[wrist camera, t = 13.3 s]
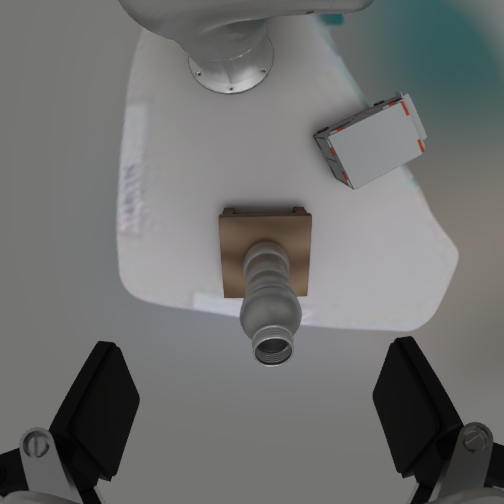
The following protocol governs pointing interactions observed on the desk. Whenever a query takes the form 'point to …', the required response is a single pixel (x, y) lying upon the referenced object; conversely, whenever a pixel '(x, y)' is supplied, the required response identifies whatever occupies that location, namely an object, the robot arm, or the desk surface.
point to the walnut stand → (264, 230)
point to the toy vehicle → (373, 141)
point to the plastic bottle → (269, 304)
